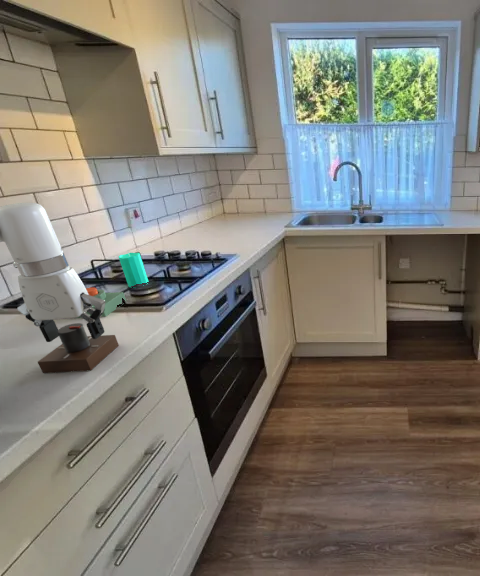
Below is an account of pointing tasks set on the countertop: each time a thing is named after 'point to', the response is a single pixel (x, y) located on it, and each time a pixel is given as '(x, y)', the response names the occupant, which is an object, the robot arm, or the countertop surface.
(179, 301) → the countertop surface
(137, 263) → the candle
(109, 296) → the green button box
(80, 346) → the dial
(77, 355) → the brown dial base
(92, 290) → the orange push button
